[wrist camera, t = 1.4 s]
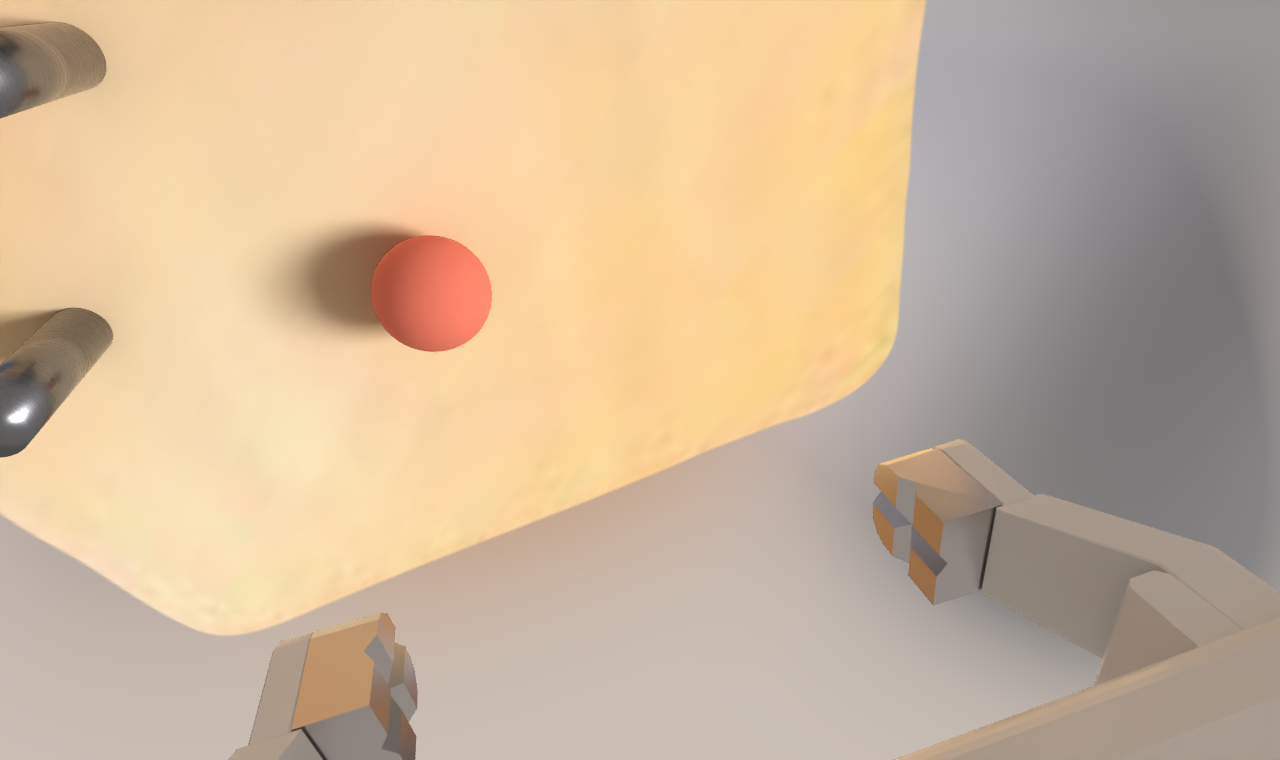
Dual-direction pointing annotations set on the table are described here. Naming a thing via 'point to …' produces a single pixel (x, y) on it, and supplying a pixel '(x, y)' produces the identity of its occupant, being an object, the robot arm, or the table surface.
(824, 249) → the table surface
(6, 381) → the post far
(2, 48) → the post near
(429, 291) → the ball
